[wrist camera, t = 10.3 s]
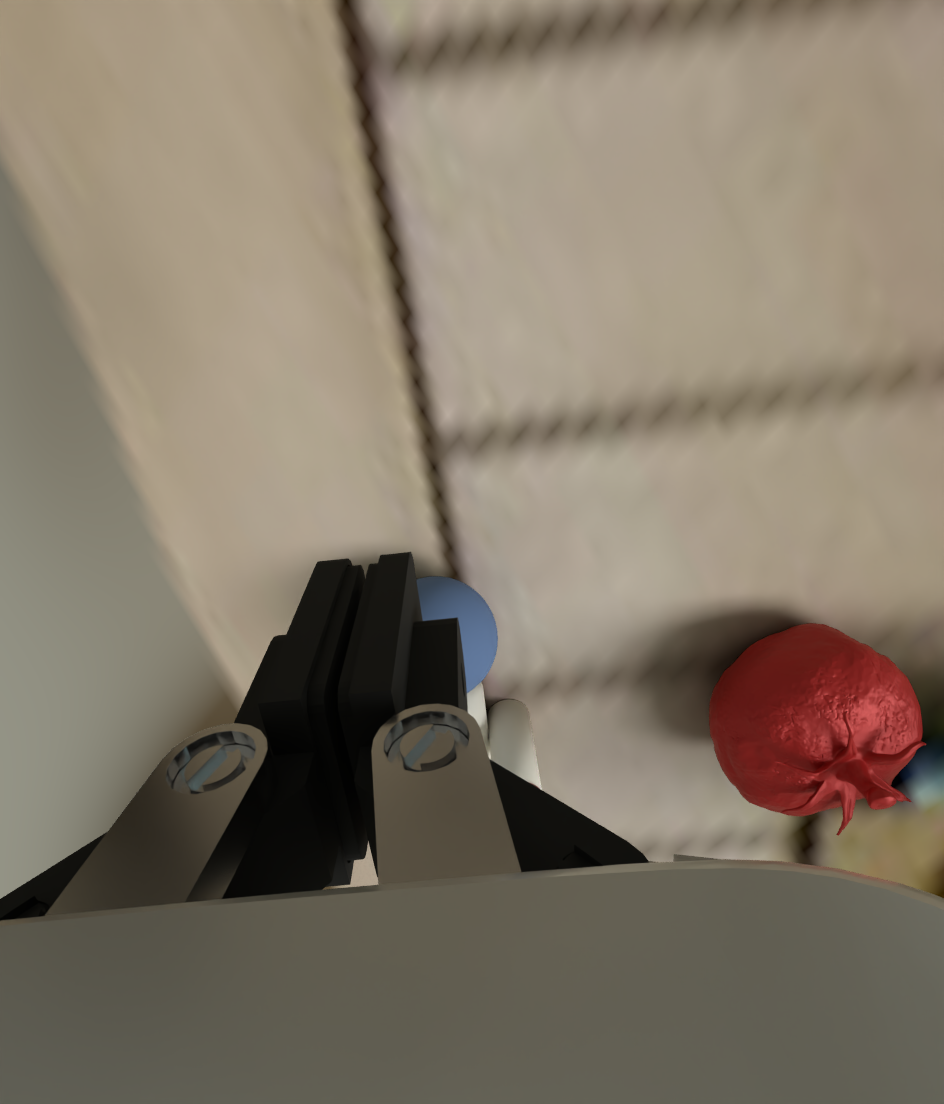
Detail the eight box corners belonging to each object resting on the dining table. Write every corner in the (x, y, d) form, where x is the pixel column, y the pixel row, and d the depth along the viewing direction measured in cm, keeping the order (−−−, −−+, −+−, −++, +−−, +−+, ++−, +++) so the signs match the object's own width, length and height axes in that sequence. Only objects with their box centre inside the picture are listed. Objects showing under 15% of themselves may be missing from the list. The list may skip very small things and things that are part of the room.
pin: (484, 700, 36) (493, 822, 29) (528, 696, 36) (549, 817, 29) (488, 734, 37) (498, 861, 30) (531, 730, 37) (551, 856, 30)
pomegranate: (658, 671, 36) (716, 799, 28) (821, 572, 34) (939, 679, 25) (744, 774, 39) (819, 916, 31) (899, 691, 37) (1026, 821, 28)
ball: (389, 685, 34) (386, 573, 34) (501, 685, 34) (498, 571, 34) (359, 717, 28) (356, 582, 28) (496, 718, 28) (493, 579, 28)
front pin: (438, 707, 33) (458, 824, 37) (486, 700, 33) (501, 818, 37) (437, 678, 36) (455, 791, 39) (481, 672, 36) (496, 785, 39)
